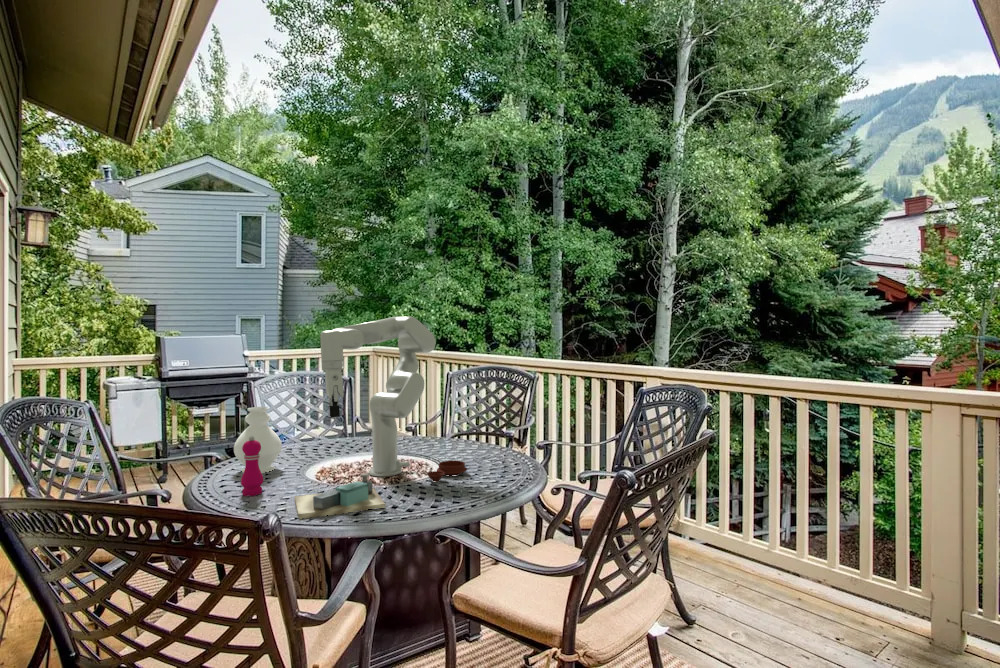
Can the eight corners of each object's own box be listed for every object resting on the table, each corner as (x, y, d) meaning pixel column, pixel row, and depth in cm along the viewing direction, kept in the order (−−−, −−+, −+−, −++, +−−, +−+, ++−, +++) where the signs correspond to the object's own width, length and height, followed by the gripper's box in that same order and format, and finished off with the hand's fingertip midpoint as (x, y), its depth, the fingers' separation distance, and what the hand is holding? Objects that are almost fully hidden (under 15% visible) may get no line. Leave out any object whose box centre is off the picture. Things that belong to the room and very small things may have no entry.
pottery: (472, 473, 232) (472, 461, 232) (444, 485, 214) (444, 473, 214) (447, 469, 238) (447, 458, 237) (417, 481, 220) (417, 469, 220)
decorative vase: (288, 464, 247) (287, 404, 247) (272, 475, 229) (272, 411, 229) (244, 465, 247) (244, 405, 246) (226, 476, 229) (225, 411, 229)
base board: (373, 492, 206) (373, 469, 206) (385, 508, 187) (385, 483, 187) (294, 500, 196) (294, 477, 196) (298, 519, 178) (298, 492, 177)
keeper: (357, 496, 195) (357, 481, 195) (368, 499, 192) (368, 483, 192) (336, 503, 188) (335, 487, 188) (347, 506, 185) (347, 490, 185)
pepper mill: (245, 490, 208) (244, 434, 208) (266, 490, 209) (265, 433, 209) (237, 496, 201) (237, 438, 201) (259, 496, 202) (259, 437, 201)
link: (364, 490, 202) (364, 479, 202) (375, 492, 200) (375, 481, 200) (312, 507, 183) (312, 496, 183) (323, 510, 181) (323, 498, 180)
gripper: (346, 366, 205) (349, 419, 205) (340, 363, 218) (342, 412, 219) (324, 367, 202) (326, 421, 202) (319, 364, 215) (321, 414, 216)
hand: (334, 416), depth 211 cm, fingers closed
